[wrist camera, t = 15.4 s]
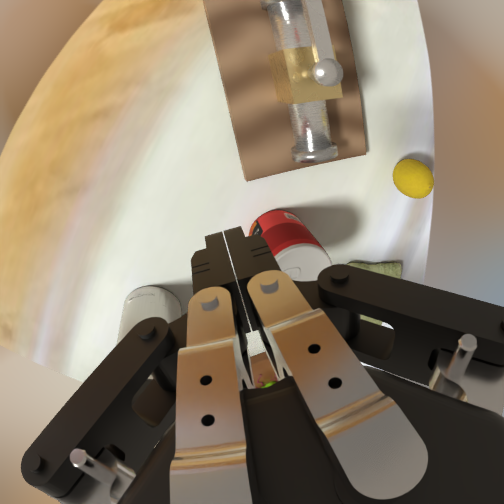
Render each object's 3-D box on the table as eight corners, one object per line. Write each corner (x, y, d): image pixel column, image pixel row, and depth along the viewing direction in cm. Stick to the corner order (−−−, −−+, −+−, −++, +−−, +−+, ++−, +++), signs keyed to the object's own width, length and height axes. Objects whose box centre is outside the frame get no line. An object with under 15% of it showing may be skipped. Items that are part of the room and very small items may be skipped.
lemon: (407, 148, 41) (441, 162, 34) (412, 179, 44) (444, 197, 37) (379, 160, 41) (412, 176, 35) (386, 192, 44) (417, 212, 38)
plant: (299, 333, 56) (320, 378, 46) (322, 381, 66) (339, 419, 56) (204, 373, 56) (210, 421, 47) (243, 413, 67) (253, 453, 57)
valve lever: (338, 84, 26) (346, 85, 25) (313, 87, 26) (319, 88, 24) (308, -42, 18) (314, -47, 17) (281, -42, 18) (286, -48, 17)
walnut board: (360, 152, 40) (366, 154, 39) (244, 178, 39) (246, 181, 38) (333, -10, 28) (338, -13, 26) (203, 0, 27) (203, -3, 25)
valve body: (326, 147, 38) (359, 163, 31) (286, 155, 38) (311, 173, 30) (298, 0, 28) (328, -18, 20) (254, 4, 27) (274, -18, 20)
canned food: (241, 217, 42) (260, 258, 32) (297, 201, 42) (330, 237, 33) (253, 263, 46) (272, 311, 36) (304, 247, 46) (334, 290, 37)
